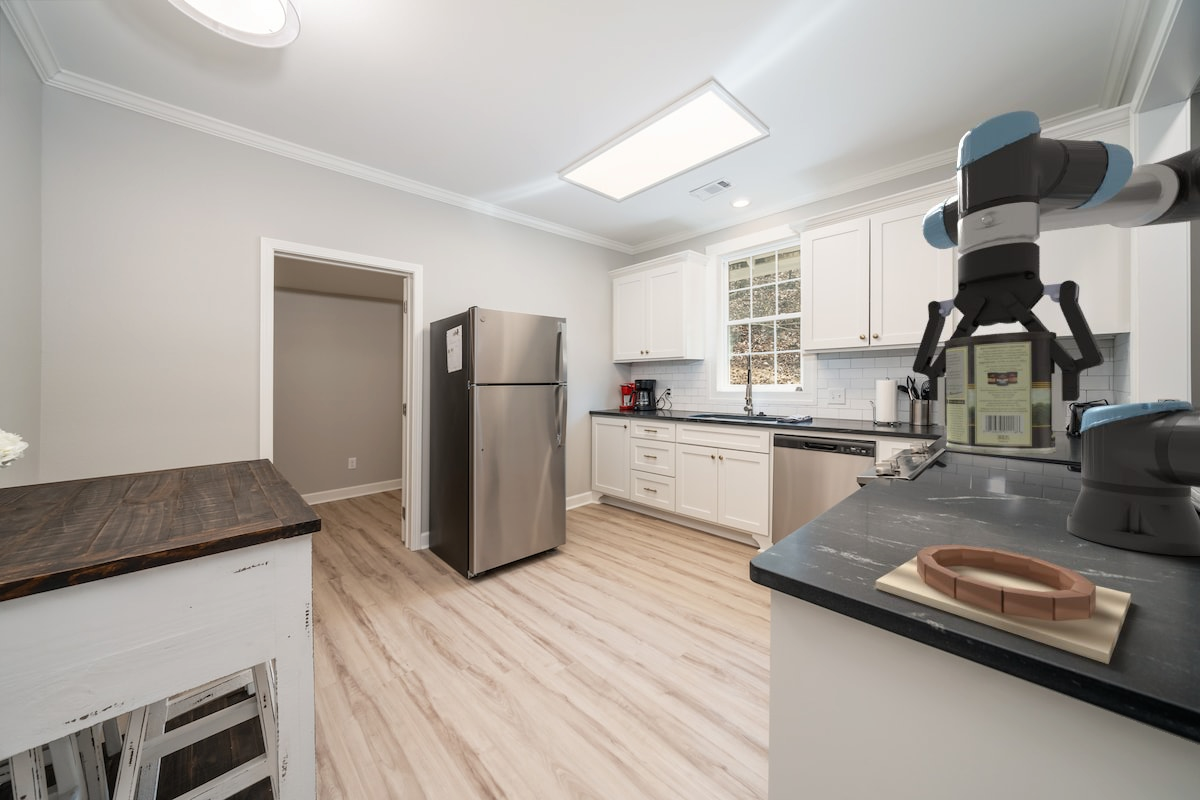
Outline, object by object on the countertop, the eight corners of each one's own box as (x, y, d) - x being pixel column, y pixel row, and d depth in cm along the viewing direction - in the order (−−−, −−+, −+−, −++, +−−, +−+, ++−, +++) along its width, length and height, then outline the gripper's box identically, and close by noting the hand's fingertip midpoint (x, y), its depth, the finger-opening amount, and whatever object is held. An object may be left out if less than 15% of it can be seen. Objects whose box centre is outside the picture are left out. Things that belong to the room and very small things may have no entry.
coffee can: (1014, 444, 58) (1014, 340, 58) (1082, 455, 48) (1082, 329, 48) (928, 443, 60) (928, 343, 60) (976, 454, 50) (976, 333, 50)
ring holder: (931, 553, 69) (931, 531, 69) (1130, 602, 52) (1130, 573, 52) (875, 588, 57) (875, 561, 57) (1108, 664, 41) (1108, 627, 41)
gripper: (883, 267, 61) (884, 424, 61) (1138, 210, 43) (1137, 435, 43) (904, 275, 65) (905, 421, 66) (1144, 226, 47) (1144, 431, 47)
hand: (997, 427), depth 54 cm, fingers closed on coffee can, 10 cm apart
